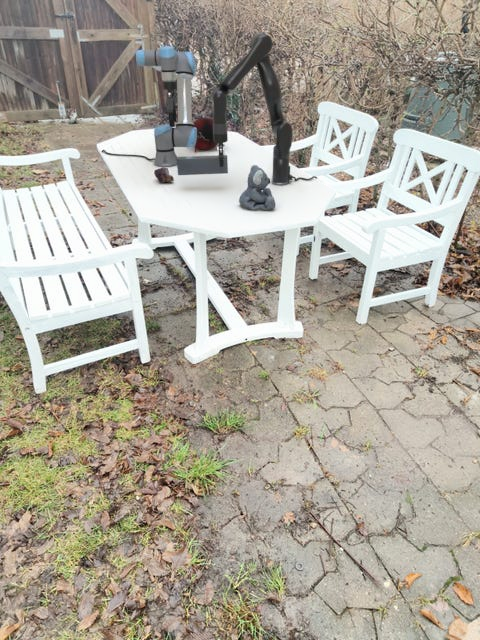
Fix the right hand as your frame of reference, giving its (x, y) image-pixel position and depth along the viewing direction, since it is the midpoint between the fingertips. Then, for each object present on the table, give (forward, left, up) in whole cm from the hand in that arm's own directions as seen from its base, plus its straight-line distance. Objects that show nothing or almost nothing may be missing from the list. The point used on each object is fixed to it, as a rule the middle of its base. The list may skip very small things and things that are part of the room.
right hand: (221, 165), depth 244 cm
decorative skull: (-13, -91, -13) cm, 93 cm away
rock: (+29, -23, -13) cm, 39 cm away
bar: (+10, -3, -4) cm, 11 cm away
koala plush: (-9, +31, -13) cm, 35 cm away
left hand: (+21, -24, +18) cm, 36 cm away
